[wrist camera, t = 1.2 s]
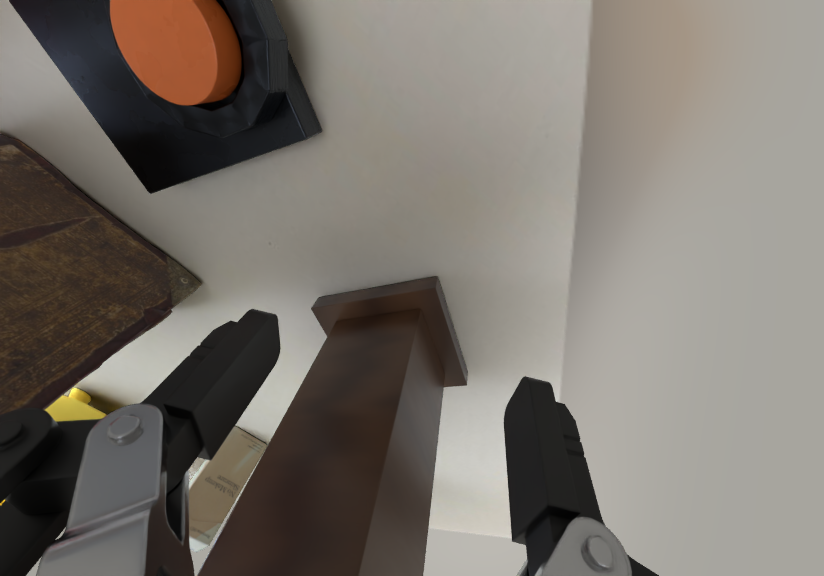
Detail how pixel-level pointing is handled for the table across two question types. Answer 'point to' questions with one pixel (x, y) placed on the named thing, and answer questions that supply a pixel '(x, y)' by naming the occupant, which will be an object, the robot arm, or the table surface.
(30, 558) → the robot arm
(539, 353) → the table surface
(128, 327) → the book
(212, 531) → the box
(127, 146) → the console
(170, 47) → the button
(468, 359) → the table surface
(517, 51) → the table surface
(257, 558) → the pedestal
